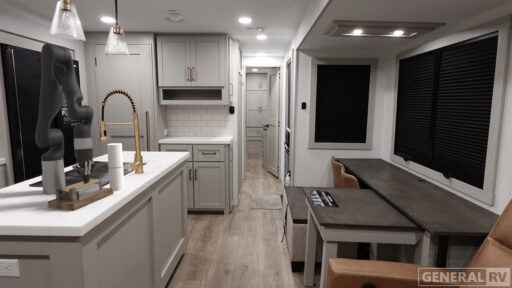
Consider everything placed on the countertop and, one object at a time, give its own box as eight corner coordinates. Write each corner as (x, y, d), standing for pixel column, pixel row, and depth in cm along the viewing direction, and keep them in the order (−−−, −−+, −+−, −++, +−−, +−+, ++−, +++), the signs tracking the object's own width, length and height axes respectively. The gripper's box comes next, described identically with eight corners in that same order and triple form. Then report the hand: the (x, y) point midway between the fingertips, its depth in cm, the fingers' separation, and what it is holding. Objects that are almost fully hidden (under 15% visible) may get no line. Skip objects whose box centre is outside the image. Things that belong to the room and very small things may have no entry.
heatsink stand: (48, 207, 125) (46, 188, 124) (90, 191, 149) (89, 175, 147) (74, 210, 123) (72, 190, 121) (113, 193, 146) (112, 177, 144)
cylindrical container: (108, 191, 150) (105, 145, 147) (111, 187, 157) (108, 143, 153) (123, 190, 152) (120, 144, 148) (125, 186, 159) (122, 143, 155)
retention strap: (59, 191, 126) (59, 188, 125) (90, 181, 143) (90, 178, 143) (68, 192, 125) (68, 189, 124) (99, 182, 142) (98, 178, 142)
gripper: (87, 144, 142) (90, 178, 144) (65, 148, 129) (68, 185, 131) (100, 145, 140) (103, 179, 142) (78, 149, 127) (81, 186, 130)
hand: (86, 182), depth 137 cm, fingers closed
